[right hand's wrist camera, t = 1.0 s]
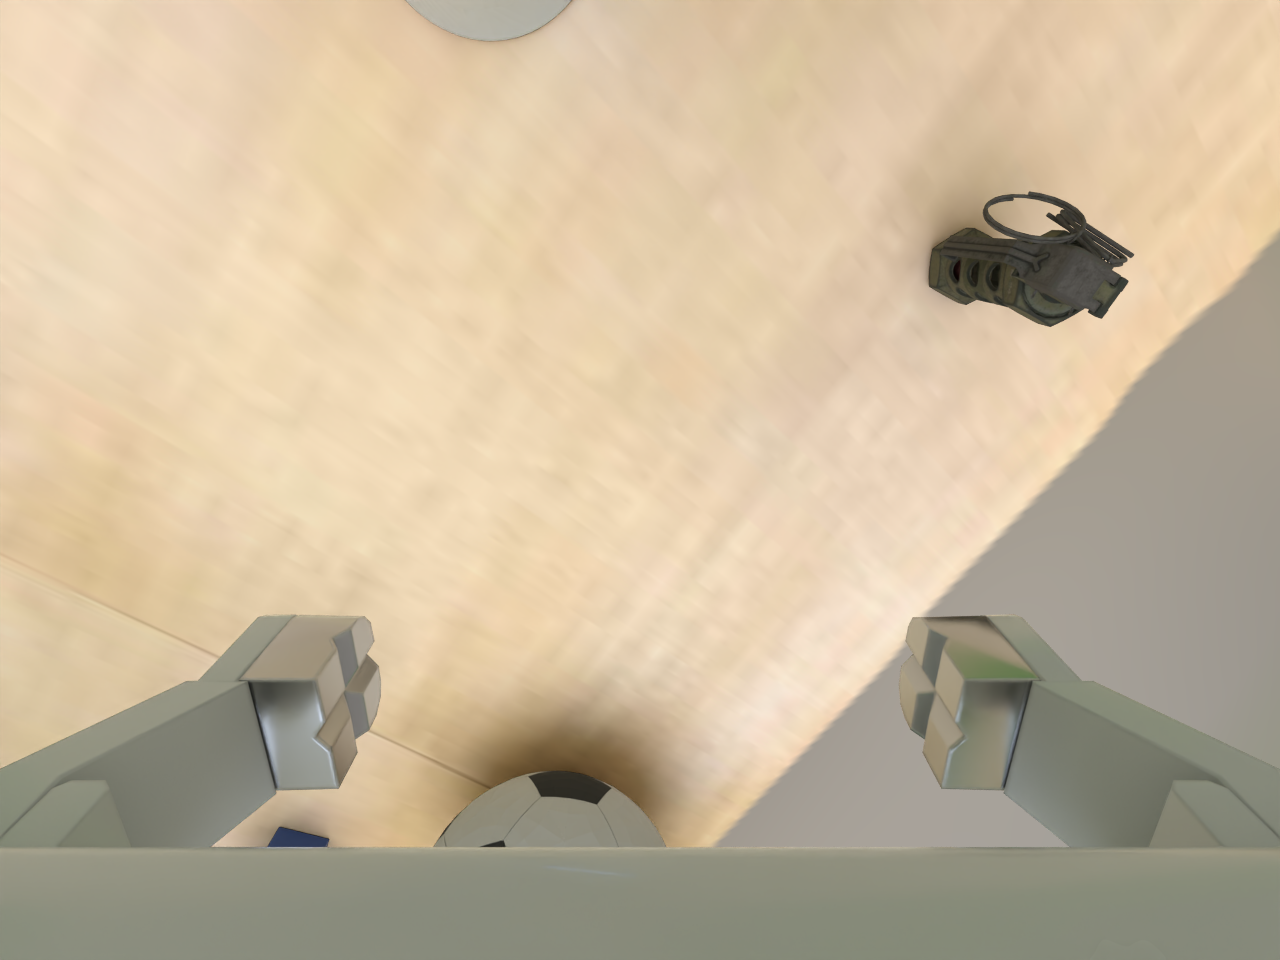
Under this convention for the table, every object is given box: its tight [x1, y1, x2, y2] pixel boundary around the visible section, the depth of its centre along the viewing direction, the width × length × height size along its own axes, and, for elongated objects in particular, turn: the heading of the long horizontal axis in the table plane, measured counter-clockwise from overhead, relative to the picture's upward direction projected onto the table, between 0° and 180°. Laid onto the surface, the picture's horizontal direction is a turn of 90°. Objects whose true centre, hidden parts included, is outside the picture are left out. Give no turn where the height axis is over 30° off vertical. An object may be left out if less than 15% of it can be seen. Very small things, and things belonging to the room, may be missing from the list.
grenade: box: [929, 192, 1134, 327], centre depth 41 cm, size 9×6×15 cm, turn 63°
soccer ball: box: [434, 771, 666, 847], centre depth 56 cm, size 22×22×22 cm
